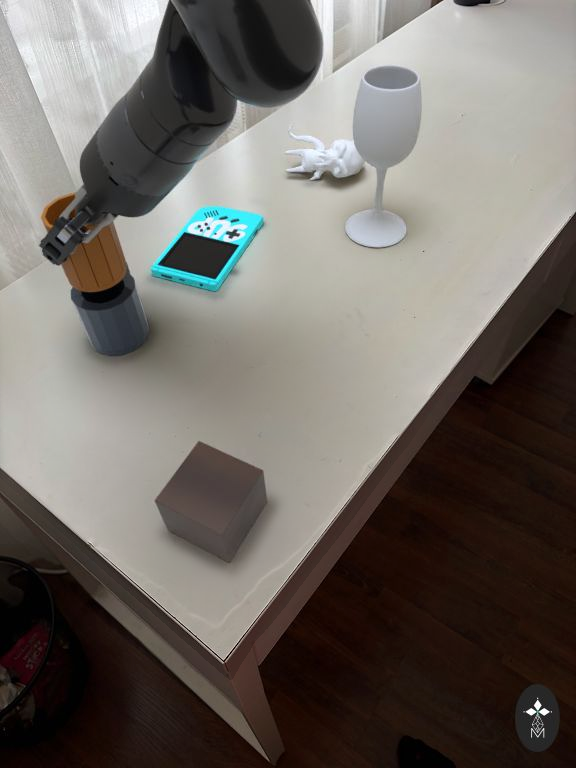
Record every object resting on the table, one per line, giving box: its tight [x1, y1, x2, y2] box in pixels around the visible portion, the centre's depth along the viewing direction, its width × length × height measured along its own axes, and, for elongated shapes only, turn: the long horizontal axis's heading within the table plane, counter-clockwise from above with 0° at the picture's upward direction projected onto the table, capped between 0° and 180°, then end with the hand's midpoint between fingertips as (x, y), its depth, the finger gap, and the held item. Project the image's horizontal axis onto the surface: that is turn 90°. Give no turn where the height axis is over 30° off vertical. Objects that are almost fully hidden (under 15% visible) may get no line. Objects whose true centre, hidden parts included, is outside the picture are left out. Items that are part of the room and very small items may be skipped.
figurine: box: [284, 123, 366, 181], centre depth 91 cm, size 8×9×12 cm
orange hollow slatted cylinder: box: [40, 192, 127, 292], centre depth 62 cm, size 6×6×8 cm
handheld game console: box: [150, 205, 264, 292], centre depth 82 cm, size 10×16×1 cm, turn 158°
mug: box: [70, 261, 150, 357], centre depth 71 cm, size 10×7×8 cm
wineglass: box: [344, 64, 423, 248], centre depth 76 cm, size 9×9×21 cm
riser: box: [154, 440, 268, 564], centre depth 55 cm, size 7×7×6 cm
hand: (72, 236), depth 62 cm, fingers closed on orange hollow slatted cylinder, 6 cm apart
